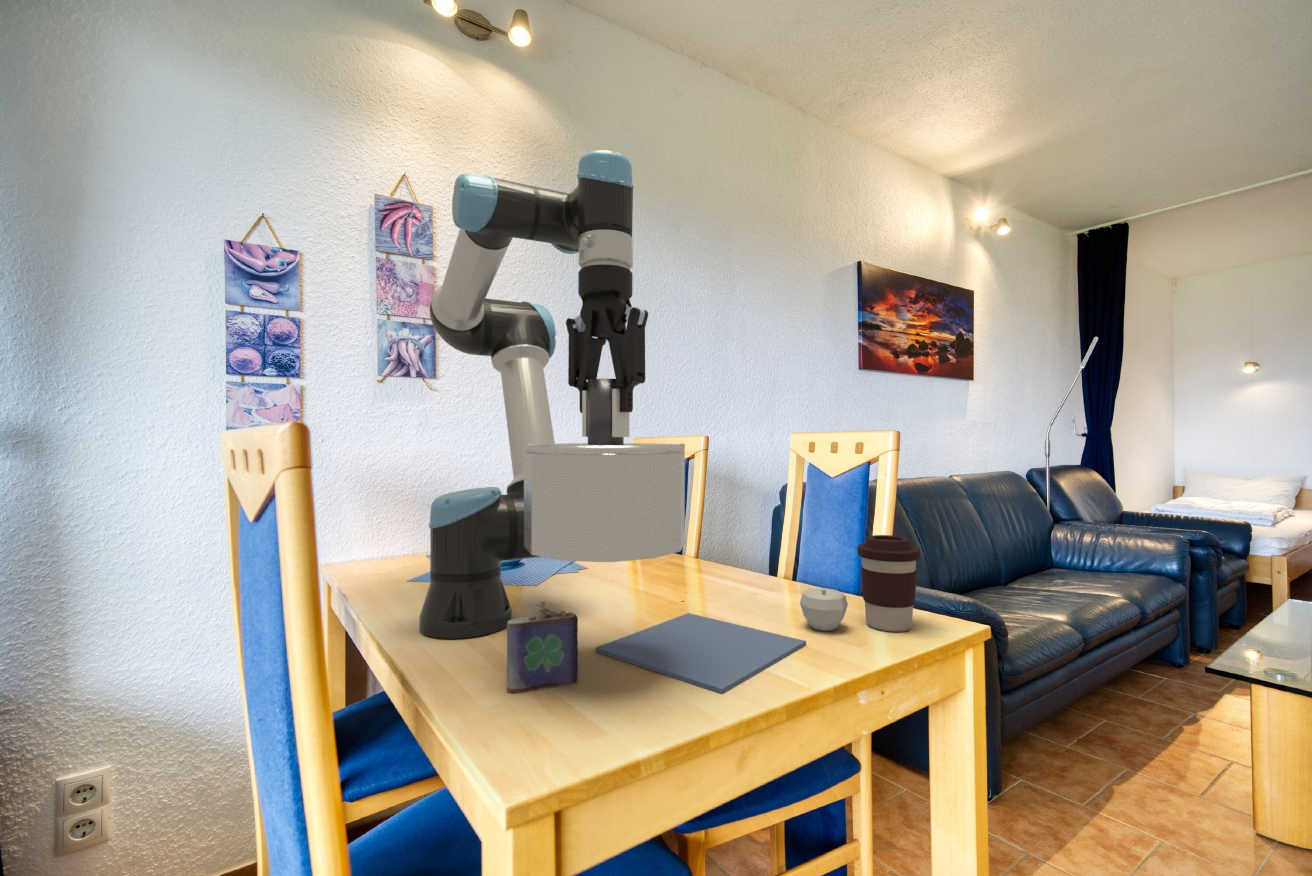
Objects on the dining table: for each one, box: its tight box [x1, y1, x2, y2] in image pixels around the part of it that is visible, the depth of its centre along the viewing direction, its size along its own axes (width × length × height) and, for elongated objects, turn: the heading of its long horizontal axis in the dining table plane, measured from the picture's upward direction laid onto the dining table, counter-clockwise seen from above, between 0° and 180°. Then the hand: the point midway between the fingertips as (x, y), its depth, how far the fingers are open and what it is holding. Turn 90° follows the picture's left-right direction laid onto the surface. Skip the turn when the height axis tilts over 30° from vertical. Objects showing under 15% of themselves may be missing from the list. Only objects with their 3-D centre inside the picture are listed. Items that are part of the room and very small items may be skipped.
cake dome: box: [524, 377, 686, 563], centre depth 83 cm, size 22×22×23 cm
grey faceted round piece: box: [799, 587, 849, 632], centre depth 100 cm, size 8×8×7 cm
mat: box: [595, 612, 807, 694], centre depth 91 cm, size 23×23×1 cm
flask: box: [506, 601, 579, 694], centre depth 77 cm, size 9×3×11 cm, turn 109°
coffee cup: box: [857, 534, 921, 633], centre depth 101 cm, size 10×10×15 cm
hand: (605, 436), depth 83 cm, fingers closed on cake dome, 5 cm apart
